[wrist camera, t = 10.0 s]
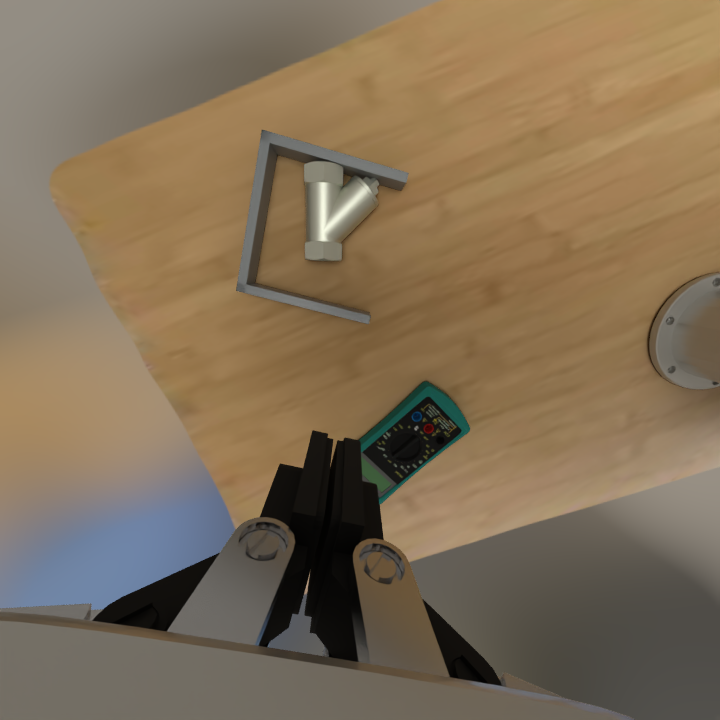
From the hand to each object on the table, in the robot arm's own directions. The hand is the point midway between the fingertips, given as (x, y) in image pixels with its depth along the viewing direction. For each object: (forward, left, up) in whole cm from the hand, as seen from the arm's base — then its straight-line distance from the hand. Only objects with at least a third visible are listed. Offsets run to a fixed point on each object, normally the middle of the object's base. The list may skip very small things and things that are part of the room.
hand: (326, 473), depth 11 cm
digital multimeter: (-9, +10, -26) cm, 29 cm away
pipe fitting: (+3, -11, -26) cm, 28 cm away
